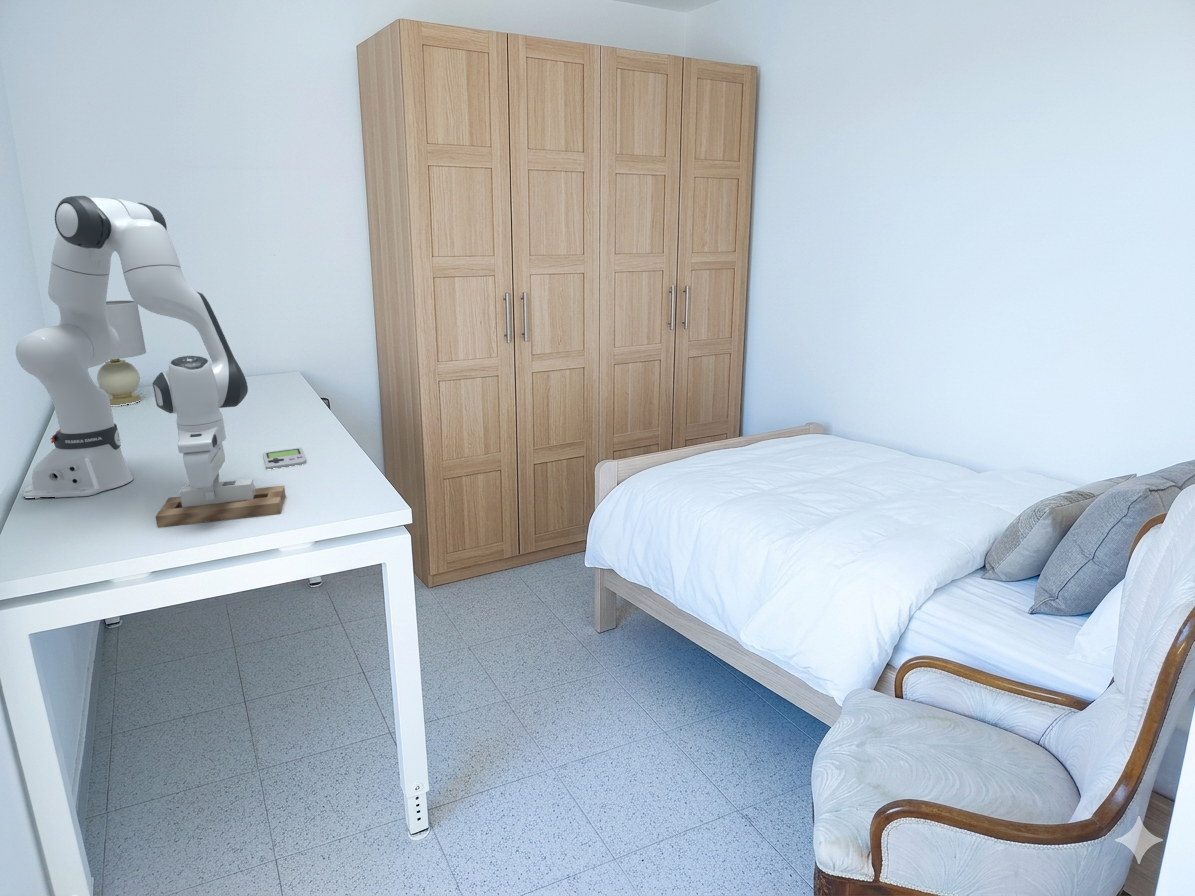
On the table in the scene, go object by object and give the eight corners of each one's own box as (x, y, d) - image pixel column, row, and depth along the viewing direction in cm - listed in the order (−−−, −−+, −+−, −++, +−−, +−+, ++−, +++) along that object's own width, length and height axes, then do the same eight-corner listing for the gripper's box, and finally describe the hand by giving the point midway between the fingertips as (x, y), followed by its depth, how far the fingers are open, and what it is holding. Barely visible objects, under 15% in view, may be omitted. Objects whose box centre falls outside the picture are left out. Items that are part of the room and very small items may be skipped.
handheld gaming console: (265, 466, 200) (262, 451, 213) (266, 471, 201) (263, 457, 214) (307, 460, 204) (301, 446, 217) (308, 465, 205) (302, 451, 218)
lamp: (77, 408, 276) (54, 306, 266) (125, 395, 294) (106, 300, 284) (122, 410, 270) (101, 306, 260) (168, 398, 288) (150, 300, 278)
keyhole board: (157, 527, 164) (155, 516, 163) (170, 508, 175) (168, 497, 174) (280, 513, 170) (278, 502, 169) (285, 495, 181) (284, 485, 180)
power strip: (183, 516, 169) (179, 491, 167) (187, 509, 172) (183, 485, 171) (254, 507, 172) (250, 483, 171) (256, 502, 176) (252, 478, 174)
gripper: (195, 423, 176) (206, 482, 180) (175, 447, 157) (187, 512, 161) (226, 420, 178) (235, 479, 181) (209, 444, 159) (221, 508, 163)
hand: (213, 495), depth 171 cm, fingers open, 4 cm apart
